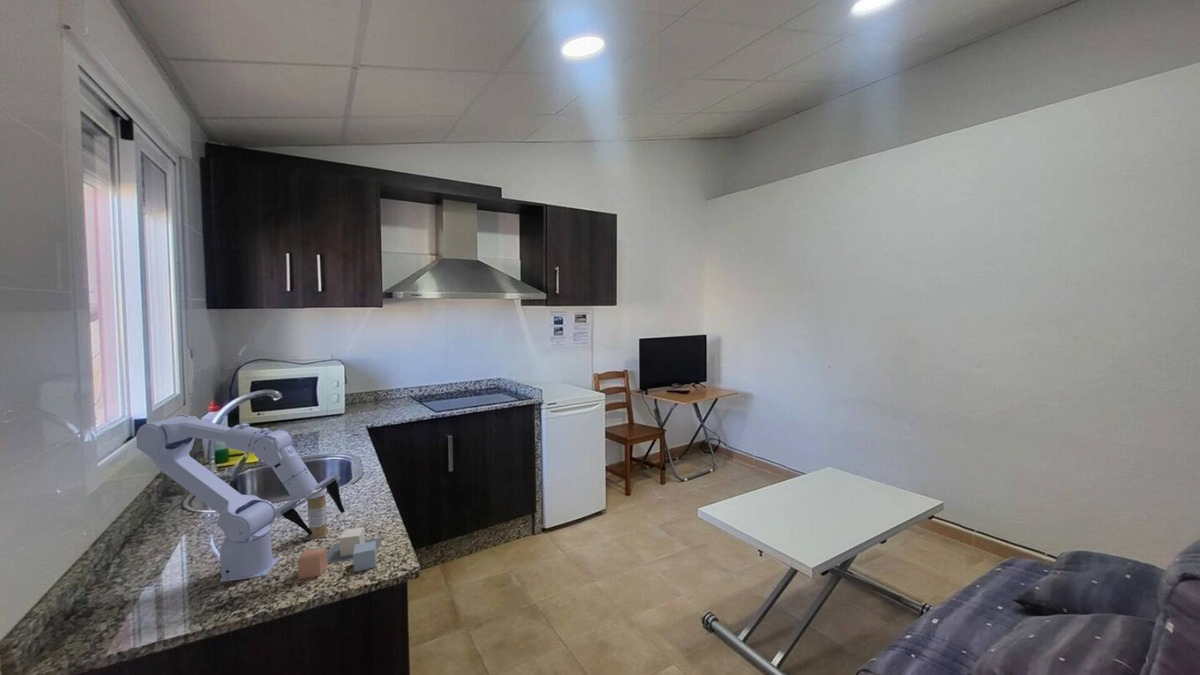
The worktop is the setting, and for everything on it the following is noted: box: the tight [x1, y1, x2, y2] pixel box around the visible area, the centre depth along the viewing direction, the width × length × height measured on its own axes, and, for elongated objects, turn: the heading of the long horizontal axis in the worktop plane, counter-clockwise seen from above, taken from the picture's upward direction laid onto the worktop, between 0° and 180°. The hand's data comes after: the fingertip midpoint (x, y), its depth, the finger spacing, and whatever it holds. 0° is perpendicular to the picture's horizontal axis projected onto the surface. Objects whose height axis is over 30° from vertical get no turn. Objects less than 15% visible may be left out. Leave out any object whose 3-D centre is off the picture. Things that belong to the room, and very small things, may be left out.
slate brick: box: [352, 541, 378, 572], centre depth 113 cm, size 5×5×5 cm
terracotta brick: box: [297, 547, 328, 580], centre depth 110 cm, size 5×5×5 cm
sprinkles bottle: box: [305, 488, 329, 539], centre depth 128 cm, size 5×5×13 cm
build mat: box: [327, 537, 383, 564], centre depth 120 cm, size 12×10×1 cm
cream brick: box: [338, 527, 366, 556], centre depth 119 cm, size 5×5×5 cm
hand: (327, 523), depth 111 cm, fingers open, 7 cm apart
